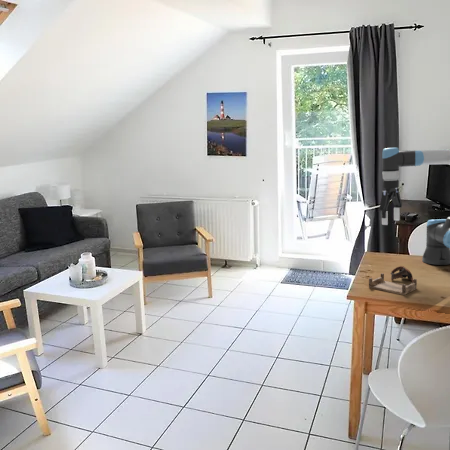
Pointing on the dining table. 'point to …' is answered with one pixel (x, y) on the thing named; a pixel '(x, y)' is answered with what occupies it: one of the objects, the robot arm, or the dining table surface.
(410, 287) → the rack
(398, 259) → the dining table surface
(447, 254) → the robot arm
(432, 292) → the dining table surface
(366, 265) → the dining table surface
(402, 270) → the pottery mug
